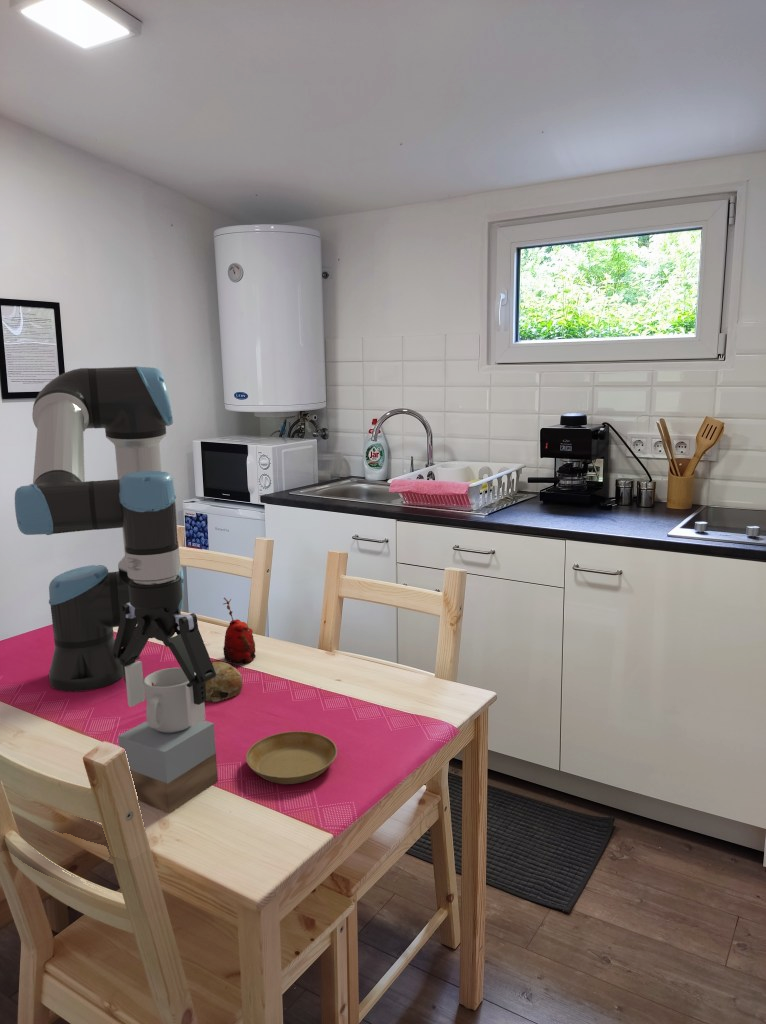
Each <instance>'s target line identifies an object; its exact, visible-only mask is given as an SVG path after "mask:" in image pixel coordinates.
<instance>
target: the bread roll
mask: <svg viewBox="0 0 766 1024" xmlns="http://www.w3.org/2000/svg"><path fill="white" fill-rule="evenodd" d="M211 662H212V665H213V667H214V670H215V672H216V676H215V677H214V678H212V679H210V680H208V681H206V682H205V686H206V701H205V702H212V703H218V702H221V701H225V700H228V698H229V699H230V698H231V699H232V698H234V697H233V696H235V697H236V696H239V694H240V693H241V692H242V691H243V684H244V683H243V677H242V674H241V672H240V671H239V670H238V668H236V667H234V666H232V665H231V664H230V663H227V662H224V661H211ZM224 699H225V700H224Z"/></svg>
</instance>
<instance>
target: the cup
mask: <svg viewBox="0 0 766 1024" xmlns="http://www.w3.org/2000/svg"><path fill="white" fill-rule="evenodd" d="M194 675H196V673H195V672H194ZM187 683H189V680H188V679H187V677H186V675H185V673H184V672H183V670H182V668H181V667H168V668H162V669H159V670H156V671H154V672H152V673H149V674H148V675H147V676H145V678H143V686H144V692H145V701H146V707H145V708H146V710H145V713H146V714H145V716H146V721H147V722H148V725H149V726H150V727H151V728H155V729H156V730H157V731H160V732H165V733H172V732H178V731H181V730H184V729H186V728H188V727H190V726H189V725H188V712H187V699H186V687H185V684H187Z"/></svg>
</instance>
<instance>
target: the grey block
mask: <svg viewBox="0 0 766 1024" xmlns="http://www.w3.org/2000/svg"><path fill="white" fill-rule="evenodd" d="M215 736H216V735H215V723H214V722H211V721H208V720H203V721H201V722H200V723H198V724H196V725H194V726H193V727H191V726H190V727H188V728H186V729H184V730H181V731H178V732H172V733H165V732H160V731H157V730H156V729H155V728H151V727H150V726H149V725H148V722H147V720H146V721H144V722H141V723H140V724H138V725H136V726H134V727H133V728H131V729H128V730H126V731H125V732H122V733H121V734H119V735H117V738H118V747H119V746H120V747H122V748H124V749H125V751H126V754H127V758H128V762H129V766H130V770H132V771H135V772H138V773H140V774H143V775H146V776H148V777H151V778H154V779H156V780H159V781H162V782H164V783H167V784H168V783H169V782H171V781H172V780H174V779H176V778H177V777H179V776H180V775H182V774H184V773H185V772H187V771H188V770H190V769H191V768H193V767H195V766H196V765H198V764H199V763H201V762H202V761H204V760H206V759H207V758H209V757H210V756H212V755H213V754H215V753H216V754H217V751H216V737H215Z"/></svg>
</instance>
